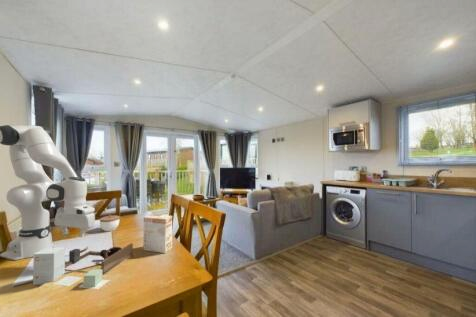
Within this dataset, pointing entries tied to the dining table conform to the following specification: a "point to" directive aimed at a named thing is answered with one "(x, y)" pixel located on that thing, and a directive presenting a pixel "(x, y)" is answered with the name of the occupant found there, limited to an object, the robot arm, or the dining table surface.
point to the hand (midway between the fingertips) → (73, 235)
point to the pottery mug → (106, 253)
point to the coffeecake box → (157, 233)
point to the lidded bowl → (109, 222)
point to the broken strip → (71, 280)
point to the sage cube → (93, 278)
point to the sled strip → (105, 264)
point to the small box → (48, 265)
